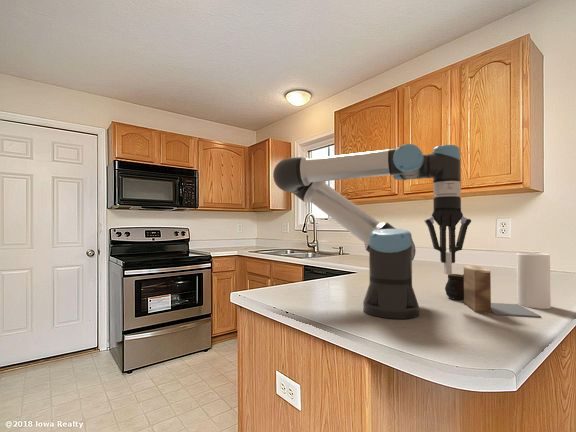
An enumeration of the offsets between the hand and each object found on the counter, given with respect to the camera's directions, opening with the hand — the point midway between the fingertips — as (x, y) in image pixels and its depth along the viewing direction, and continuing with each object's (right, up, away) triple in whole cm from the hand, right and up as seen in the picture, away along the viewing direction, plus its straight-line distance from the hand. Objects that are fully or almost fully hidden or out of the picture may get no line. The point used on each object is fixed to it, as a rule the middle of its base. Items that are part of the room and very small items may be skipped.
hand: (447, 273), depth 96 cm
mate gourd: (+9, -11, +10) cm, 17 cm away
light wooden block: (+8, -10, -2) cm, 13 cm away
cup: (+27, -10, +2) cm, 29 cm away
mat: (+15, -10, -4) cm, 19 cm away
